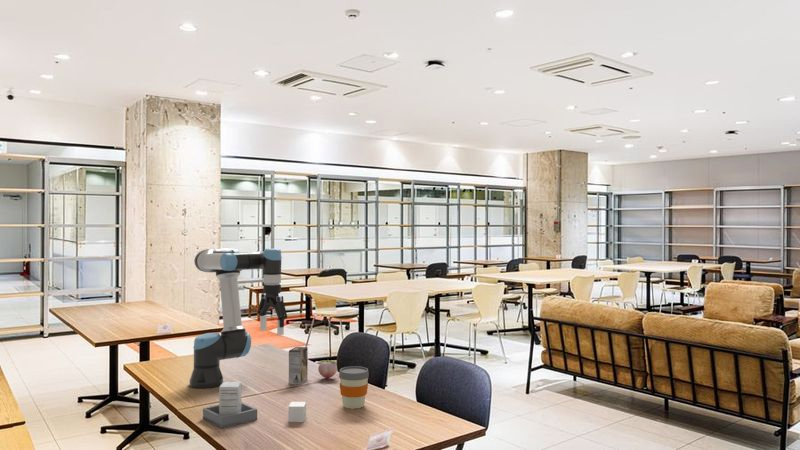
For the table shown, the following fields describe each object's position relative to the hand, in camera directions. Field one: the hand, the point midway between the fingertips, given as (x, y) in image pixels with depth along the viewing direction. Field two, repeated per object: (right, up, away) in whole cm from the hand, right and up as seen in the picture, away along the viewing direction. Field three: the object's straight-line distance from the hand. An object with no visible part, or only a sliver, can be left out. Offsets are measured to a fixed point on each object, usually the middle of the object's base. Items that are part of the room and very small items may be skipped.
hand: (271, 332), depth 250 cm
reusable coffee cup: (+36, -29, -8) cm, 48 cm away
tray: (-10, -29, -27) cm, 41 cm away
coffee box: (+7, -29, +27) cm, 40 cm away
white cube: (+16, -29, -26) cm, 42 cm away
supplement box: (-10, -28, -27) cm, 40 cm away
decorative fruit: (+20, -29, +33) cm, 49 cm away
